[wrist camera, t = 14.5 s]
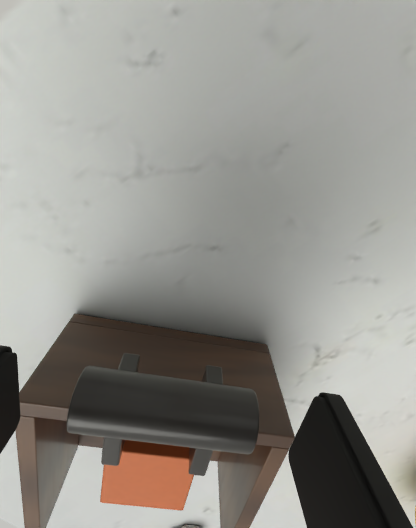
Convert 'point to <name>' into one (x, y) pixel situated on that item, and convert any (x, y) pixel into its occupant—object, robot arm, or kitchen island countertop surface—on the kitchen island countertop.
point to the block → (148, 476)
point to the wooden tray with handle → (152, 410)
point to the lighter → (190, 526)
